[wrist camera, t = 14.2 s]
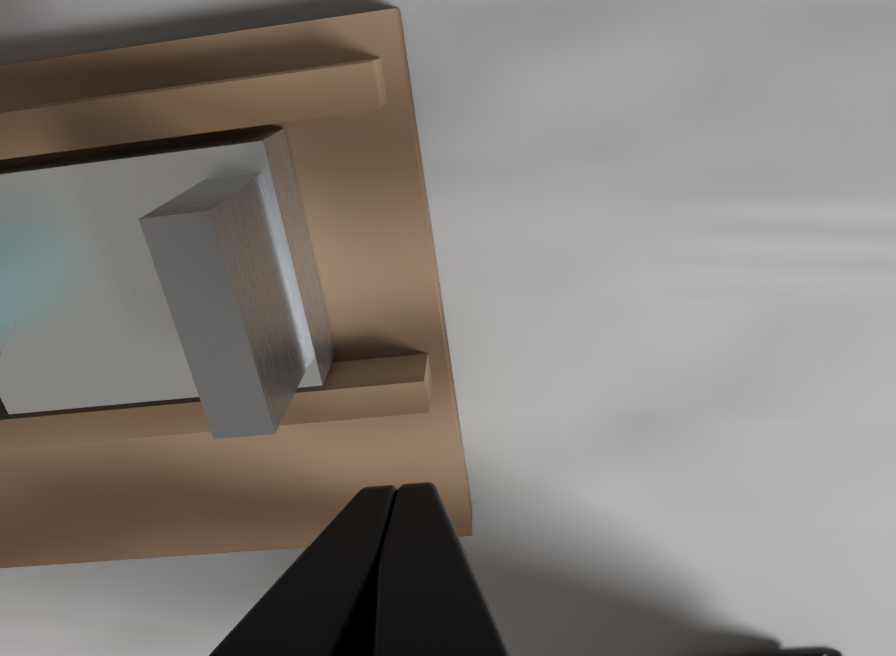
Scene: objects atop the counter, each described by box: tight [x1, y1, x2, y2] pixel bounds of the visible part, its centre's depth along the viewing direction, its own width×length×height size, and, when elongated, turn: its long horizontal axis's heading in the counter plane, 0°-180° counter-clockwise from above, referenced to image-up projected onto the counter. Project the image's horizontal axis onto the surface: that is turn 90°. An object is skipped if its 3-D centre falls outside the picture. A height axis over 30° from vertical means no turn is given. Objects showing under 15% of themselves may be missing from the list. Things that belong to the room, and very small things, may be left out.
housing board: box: [0, 8, 472, 568], centre depth 19 cm, size 16×18×3 cm
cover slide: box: [0, 128, 336, 439], centre depth 16 cm, size 6×9×5 cm
